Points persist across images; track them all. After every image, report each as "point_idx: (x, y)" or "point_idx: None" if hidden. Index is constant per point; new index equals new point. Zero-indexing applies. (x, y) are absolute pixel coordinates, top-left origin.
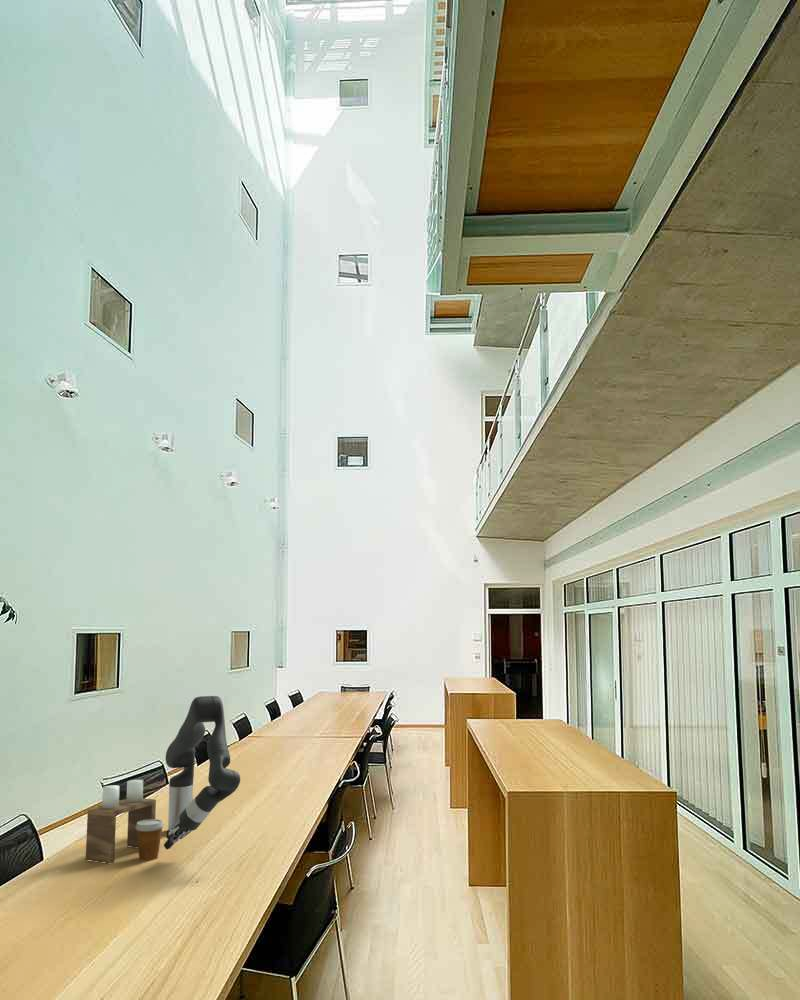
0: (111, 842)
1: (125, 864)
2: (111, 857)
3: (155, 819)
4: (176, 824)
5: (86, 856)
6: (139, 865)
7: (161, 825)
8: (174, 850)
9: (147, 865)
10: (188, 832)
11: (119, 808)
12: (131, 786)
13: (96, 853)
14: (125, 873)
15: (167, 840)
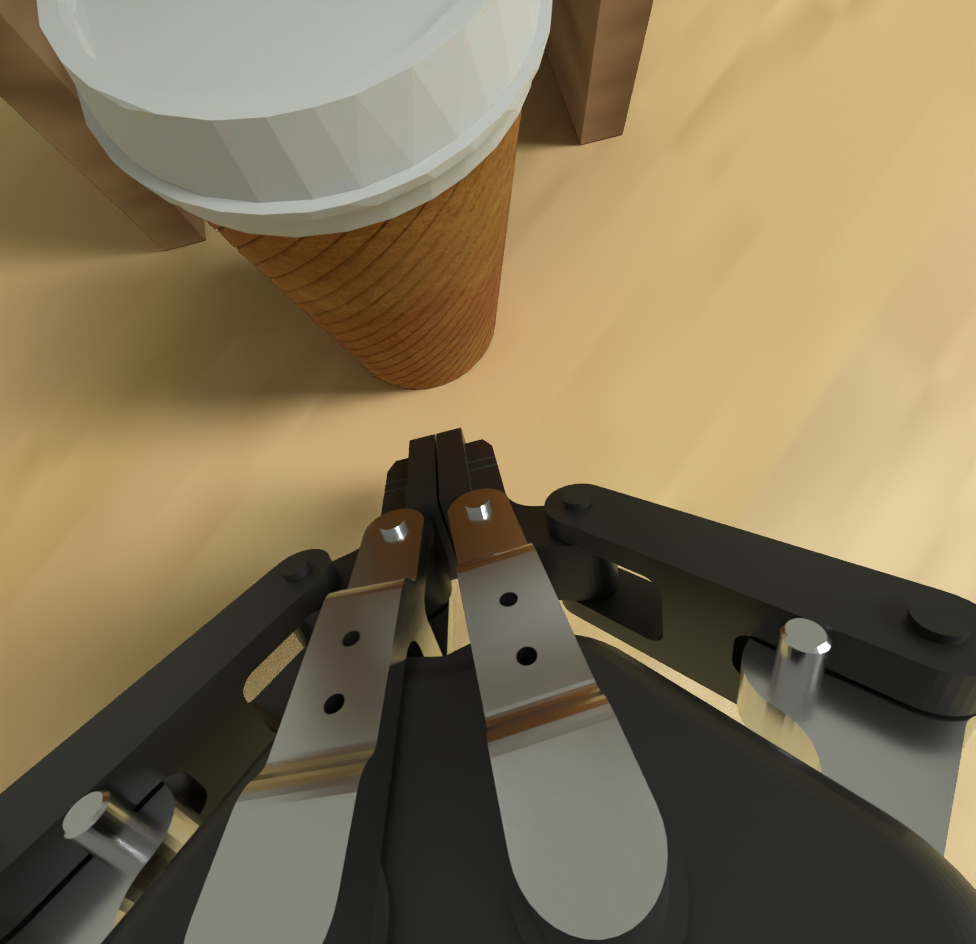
0: (9, 93)
1: (212, 336)
2: (142, 213)
3: None
4: (209, 887)
5: None
6: (243, 443)
7: (402, 157)
8: (701, 286)
9: (274, 496)
10: (718, 687)
11: None
12: None
13: None
14: (28, 552)
15: (408, 480)
